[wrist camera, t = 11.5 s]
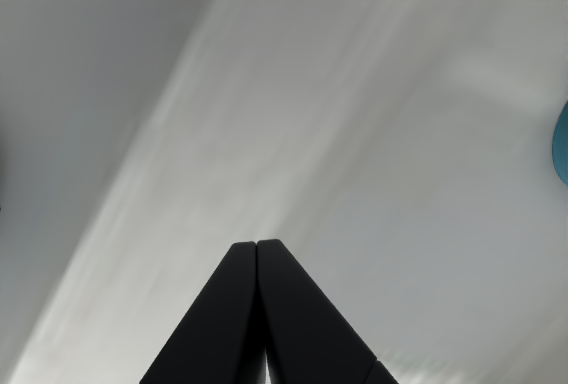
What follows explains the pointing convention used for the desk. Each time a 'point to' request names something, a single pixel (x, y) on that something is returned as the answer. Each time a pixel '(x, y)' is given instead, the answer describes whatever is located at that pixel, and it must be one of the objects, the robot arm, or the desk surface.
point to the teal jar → (561, 146)
